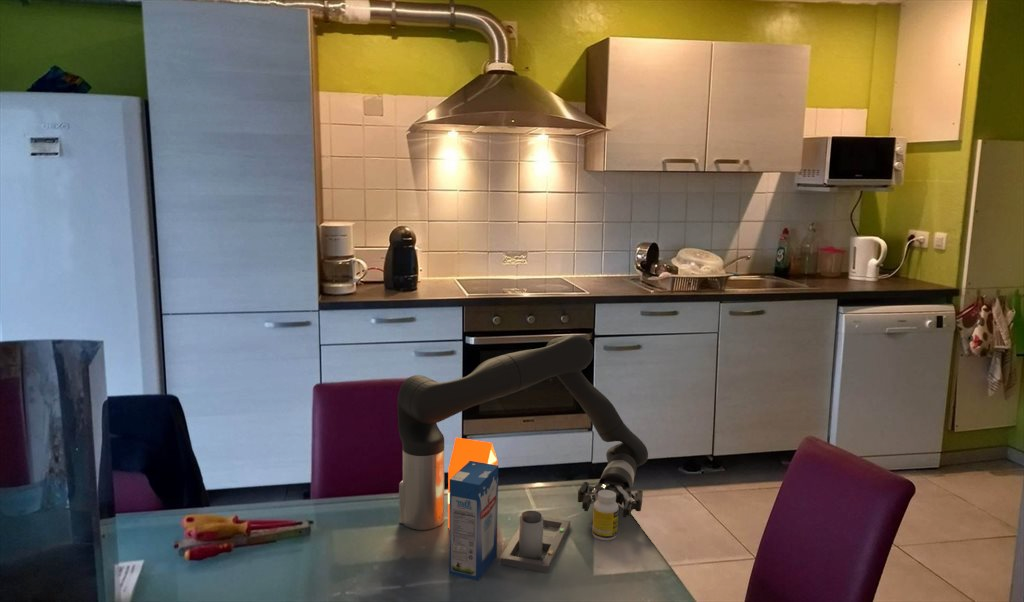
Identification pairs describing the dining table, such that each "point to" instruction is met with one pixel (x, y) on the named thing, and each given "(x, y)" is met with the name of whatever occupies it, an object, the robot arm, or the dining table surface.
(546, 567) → the two-slot grey tray
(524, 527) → the seated grey plug
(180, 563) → the dining table surface
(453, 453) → the orange juice
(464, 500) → the milk carton
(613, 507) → the supplement bottle
